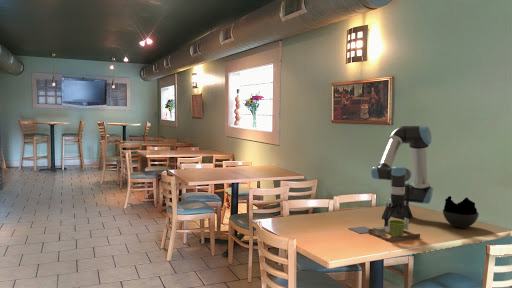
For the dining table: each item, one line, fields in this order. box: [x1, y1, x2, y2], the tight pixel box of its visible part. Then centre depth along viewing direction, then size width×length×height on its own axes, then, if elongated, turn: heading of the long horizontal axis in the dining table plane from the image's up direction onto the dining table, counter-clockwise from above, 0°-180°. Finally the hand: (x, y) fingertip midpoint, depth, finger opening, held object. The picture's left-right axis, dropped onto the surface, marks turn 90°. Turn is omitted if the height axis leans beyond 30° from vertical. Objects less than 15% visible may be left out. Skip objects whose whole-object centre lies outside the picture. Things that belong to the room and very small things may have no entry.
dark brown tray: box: [367, 228, 421, 243], centre depth 234 cm, size 19×21×2 cm
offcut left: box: [372, 225, 386, 236], centre depth 238 cm, size 4×6×4 cm, turn 113°
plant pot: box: [389, 219, 406, 237], centre depth 232 cm, size 9×9×9 cm
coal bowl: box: [442, 195, 480, 229], centre depth 253 cm, size 20×20×19 cm
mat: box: [348, 225, 371, 235], centre depth 245 cm, size 12×12×1 cm
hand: (396, 230), depth 232 cm, fingers open, 13 cm apart
